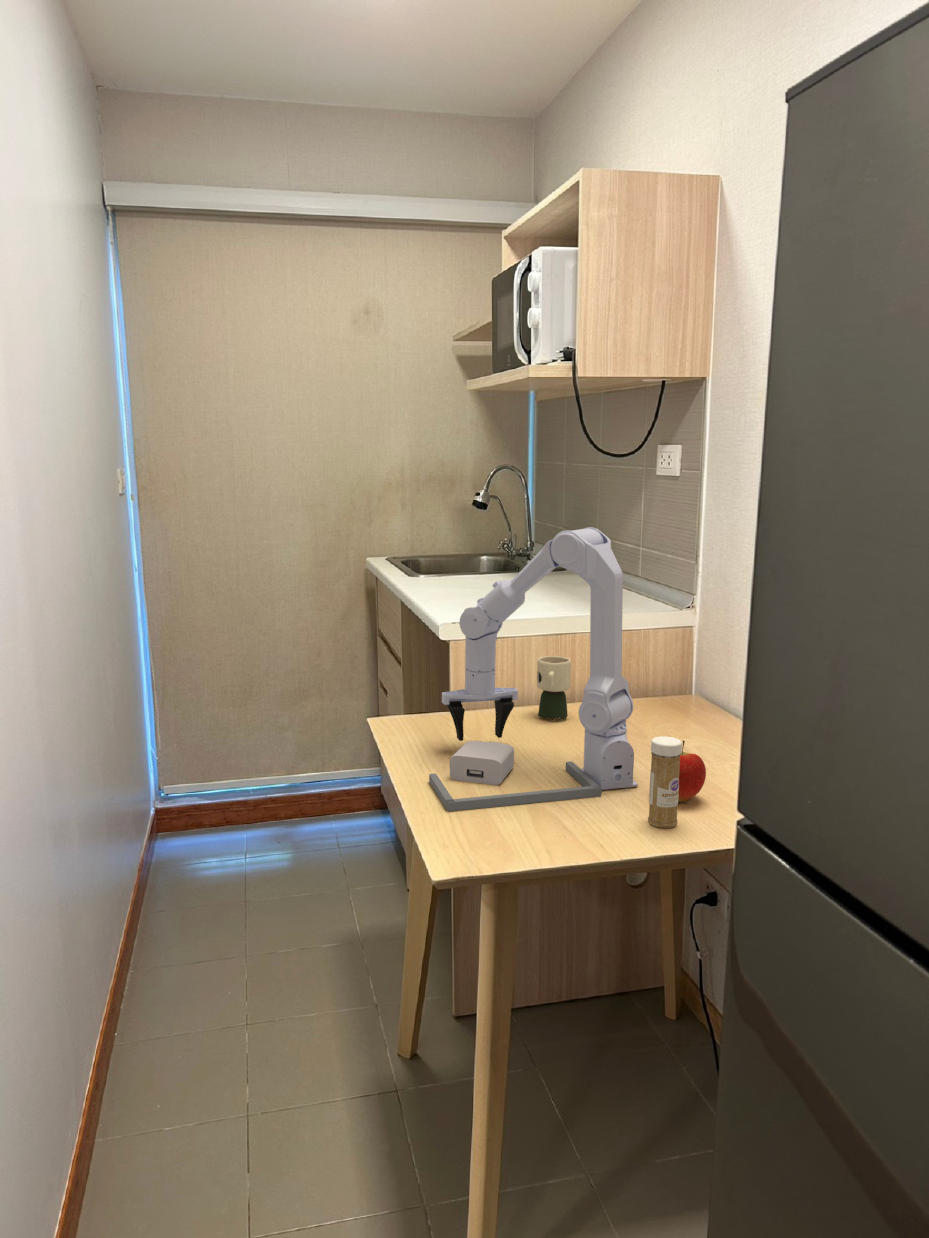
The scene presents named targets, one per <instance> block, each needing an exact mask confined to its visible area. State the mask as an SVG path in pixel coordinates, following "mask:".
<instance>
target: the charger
mask: <svg viewBox="0 0 929 1238" xmlns="http://www.w3.org/2000/svg"><path fill="white" fill-rule="evenodd" d="M514 761H515V748H514V747H513V746H512V745H511V744H507V743H504V742H497V741H496V742H495V741H482V740H468V741H466V742H464V744H463V745H462V746H461V747H460V748H459V749H458V750H457V751H456V752H455V753H454V754H453V755H452V756H450V758H449V777H450V779H451V780H453V781H460V782H468V783H474V784H475V783H476V784H483V785H491V786H499V785H500V784H501V783H502V782H503V780H505V778H506V777H507V776H508V774H509V773H510V772H511V771H512V769H513V768H514V765H515V762H514Z"/></svg>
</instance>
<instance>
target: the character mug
mask: <svg viewBox="0 0 929 1238" xmlns="http://www.w3.org/2000/svg"><path fill="white" fill-rule="evenodd" d="M536 662H537V663H536V664H537V666H536V667H537V670H536V671H537V672H536V686H537V688H538V689H540V690H542V693H541V694H540V700H539V706H538V713H537V716H538V717H539V718H542V719H544V720H546V719H550V720H551V721H554V719H566V718H567V717H568V704H567V696H566V695H567V694H566V693H565V691H568V690H569V689H571V675H572V674H571V668H572V660H571V658H569V657H566V656H560V655H545V656H540V657H538V658H537V661H536Z"/></svg>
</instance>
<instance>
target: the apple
mask: <svg viewBox="0 0 929 1238" xmlns="http://www.w3.org/2000/svg"><path fill="white" fill-rule="evenodd" d="M685 742H686V741H685V740H684V739H683V740H682V753H681V754H680V767H679V768H680V769H679V797H678V803H681V802H682V803H683V802H686V801H689V800H691V799H693V798H694V797H696V796H697V795H698V794H699V793H700V791H701V790H702V788H703V786H704V785H705V781H706V777H707V769H706V765H705V764H706V763H704V760H703V759H702V758H701V756H699V755H698V754H696V753H691V752H690V753H689V752H687V751H684V746H685V744H686V743H685Z"/></svg>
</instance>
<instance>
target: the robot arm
mask: <svg viewBox="0 0 929 1238" xmlns="http://www.w3.org/2000/svg"><path fill="white" fill-rule="evenodd" d="M613 551H614V550H613V549H612V540H611V538H609V537H608V536H607V535H605V534H604V533H603V532H602V531H601V530H600V529H598V528H595V527H593V526H592V527H591V526H588V527H584V528H581V529H580V528H579V529H575V530H570V529H569V530H568V529H567V530H562V531H559V532H558V533H557V534H556V535H555V536H554V537H553V539H550V540H548V541H546V543H545V544H544V546H543V547H542V548H541V549H540V550H539V551H538V552H537V553H536V554H535V555H534V556H533V558H532V559H530V561H529V562H528V563H527V564H526V565H525V566H524V567H523V568H522V569H521V570H520V571H519V572H518V573H517V574H516V575H515V576H514V577H513V579H502V580H498V581H495V582H493V584H492V587H493V588H492V590H490V591H489V593H487V594H486V595H485V596H484V597H480V598H478V599H477V601H476V602H477V603H476V606H472V607H466V608H465V609H464V610H463V612H462V613H461V615H460V617H459V628H460V631H461V632H462V634H463V635H464V637H465V642H464V643H465V647H464V649H465V650H464V651H465V656H464V657H465V659H464V660H465V661H464V664H465V665H464V667H465V668H464V669H465V670H464V671H465V672H464V688H463V689H456V690H449V691H444V692H443V691H442V692H441V703H442V704H443V705H444V706H446V707H447V708H448V711H449V713H450V716H451V718H452V721H453V724H454V727H455V731H456V732H455V733H456V739H457V740H458V741H460V742H461V741H464V718H465V710H466V709H465V708H464V707H463V703H475V702H491V701H493V702H494V708H495V709H494V710H495V711H494V713H495V724H494V725H495V726H494V734H495V736H496V737H497V738H498V739H500V738H501V739H502V738H503V732H504V729H505V727H506V726H505V725H506V724H507V720H508V718H509V716H510V714H511V712H512V711H513V709H514V705H515V702H513V701H518V698H519V696H518V695H519V690H518V689H517V688H515V687H496V663H497V662H496V659H497V658H496V656H497V655H496V653H497V652H496V650H497V641H498V633H499V632H500V630H501V629H502V627H503V623H504V622H505V621H506V620H507V619H508V618H510V616H511V615H512V614H514V613H515V612H516V610H518V609H519V608H520V607H521V606H522V605H523V604H524V603H525V601H526V593H527V592H528V591H530V589H531V588H533V587H534V586H536V584H538V583H539V582H540V581H542V579H543V578H545V577H546V576H548V575H549V574H550V573H551V572H552V571H553V570H555V569H556V568H563V569H565V570H567V571H569V572H571V573H573V574H575V575H578V576H579V577H580V578H581V579H582V580H583V581H585V582H586V584H588V585H589V586H590V609H589V610H590V611H589V613H590V617H589V618H590V620H589V622H590V623H589V625H590V626H589V627H590V629H589V634H590V635H589V637H590V641H589V643H590V644H589V647H590V648H589V649H590V650H589V656H590V657H589V660H590V661H589V663H590V664H589V675H590V676H589V678H588V681H587V682H586V685H585V687H584V690H583V698H582V702H581V704H580V706H579V708H578V719H579V721H580V724H581V726H582V727H583V728H584V743H583V745H584V747H583V768H580V769H581V770H582V771H583V772H584V773H586V774H587V775H588V776H589V777H590V778H591V779H592V780H593V781H595V782H596V783H597V784H598V785H599V786H600V787H601V788H602V791H604V790H614V789H623V788H624V789H625V788H633V787H634V788H635V787H638V785H639V784H638V782H637V781H635V780H634V767H635V766H634V763H635V750H634V748H633V746H632V744H631V743H630V742H629V741H628V737H627V736H628V735H627V734H628V733H627V730H628V727H627V719H629V718H630V717H631V715H632V714H633V711H634V700H633V698H632V696H631V694H630V689H629V681H628V680H627V679H626V678H625V677H624V676H623V675H622V674H623V673H622V672H623V670H622V669H623V668H622V667H623V666H622V665H623V589H624V588H623V587H624V586H623V585H624V581H623V580H624V577H623V575H624V574H623V571H622V568H621V566H620V564H619V563H618V560H617V558H616V556H615V554H614V552H613Z"/></svg>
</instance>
